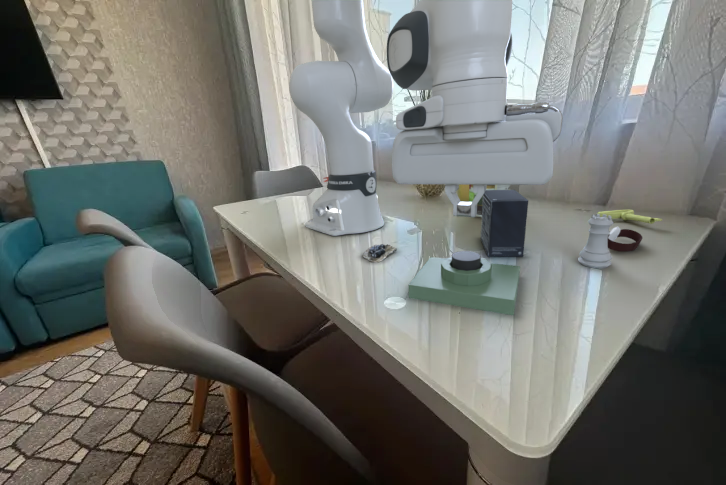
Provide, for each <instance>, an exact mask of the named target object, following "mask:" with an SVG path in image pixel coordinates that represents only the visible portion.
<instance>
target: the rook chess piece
mask: <svg viewBox="0 0 726 485" xmlns="http://www.w3.org/2000/svg"><path fill="white" fill-rule="evenodd" d="M606 217H607V215H605V214H603V217H600V214H597V213H596V214H591V217H590V219H588V220H587V223H588V224H589V225H590V228H589V229H588V230H587V231H588V238H587V241H586V244H585V246H583V249H581V250H580V252H579V254H578V255H579V257H578V258H577V259H578V262H579V263H580V264H581V265H582V266H584V267H587V268H592V269H606V268H608V267H610V266H611V265H612V261H611V260H612V258H613V257H612V254H611V253H610V249H609V248H608V234H609V233H610V231H611V230H610V227H612V226H613V225H614V224H615V223H614V221H613V220H612V219H611V218H612V217H611V216H610V215H609V216H608V218H606Z"/></svg>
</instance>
